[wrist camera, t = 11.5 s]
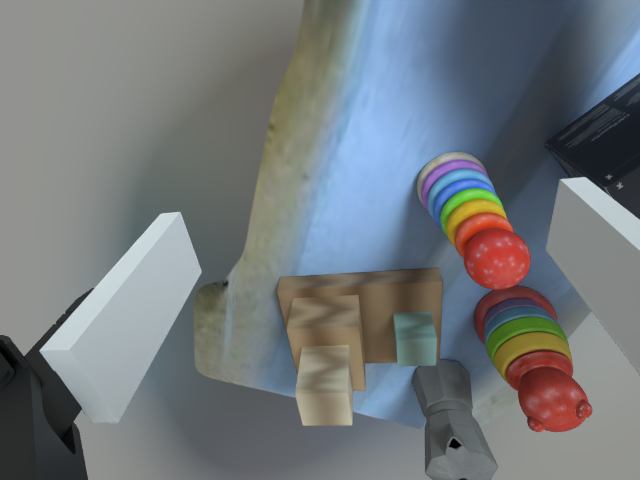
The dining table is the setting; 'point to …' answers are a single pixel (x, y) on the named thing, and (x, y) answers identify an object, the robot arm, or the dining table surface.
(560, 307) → the dining table surface
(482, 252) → the stacking toy
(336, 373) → the oak block
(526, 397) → the stacking bear
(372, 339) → the base
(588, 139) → the small box
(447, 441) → the coffeepot
